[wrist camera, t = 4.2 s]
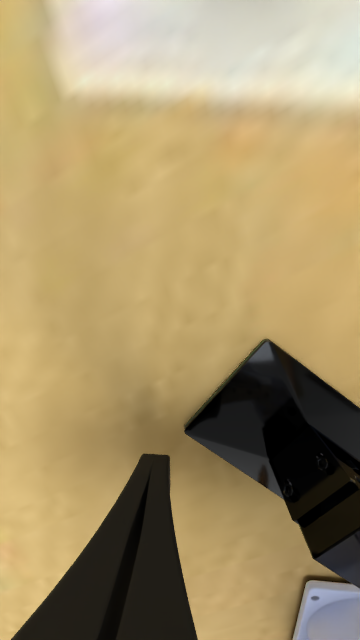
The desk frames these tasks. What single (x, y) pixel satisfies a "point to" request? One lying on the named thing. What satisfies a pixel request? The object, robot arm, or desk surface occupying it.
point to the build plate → (292, 448)
